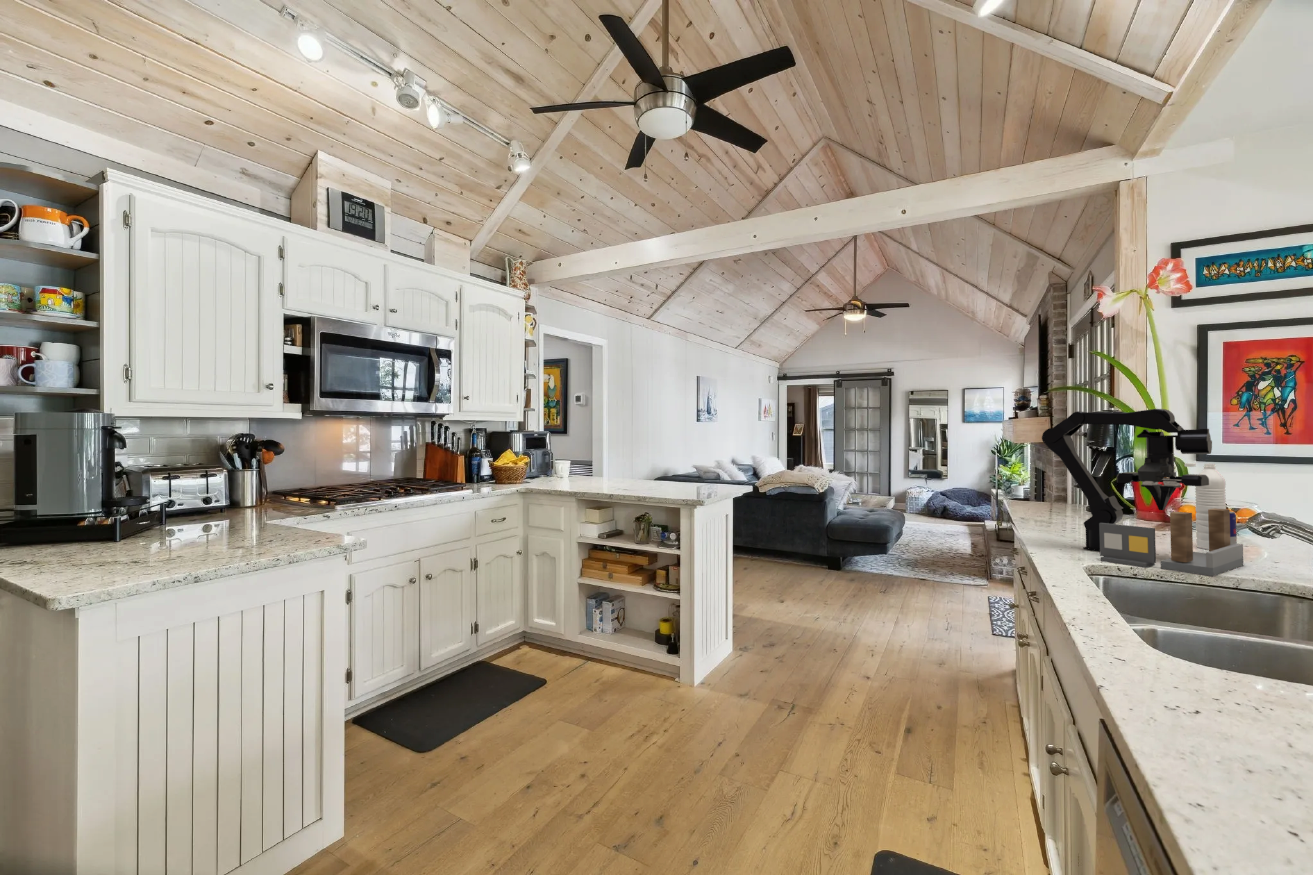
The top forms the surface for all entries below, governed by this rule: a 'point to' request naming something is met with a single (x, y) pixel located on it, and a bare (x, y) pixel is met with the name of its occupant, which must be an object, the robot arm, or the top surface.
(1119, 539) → the card
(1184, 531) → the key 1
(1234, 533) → the energy drink
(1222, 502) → the water bottle
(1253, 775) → the top surface
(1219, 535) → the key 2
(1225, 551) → the grey stepped base
